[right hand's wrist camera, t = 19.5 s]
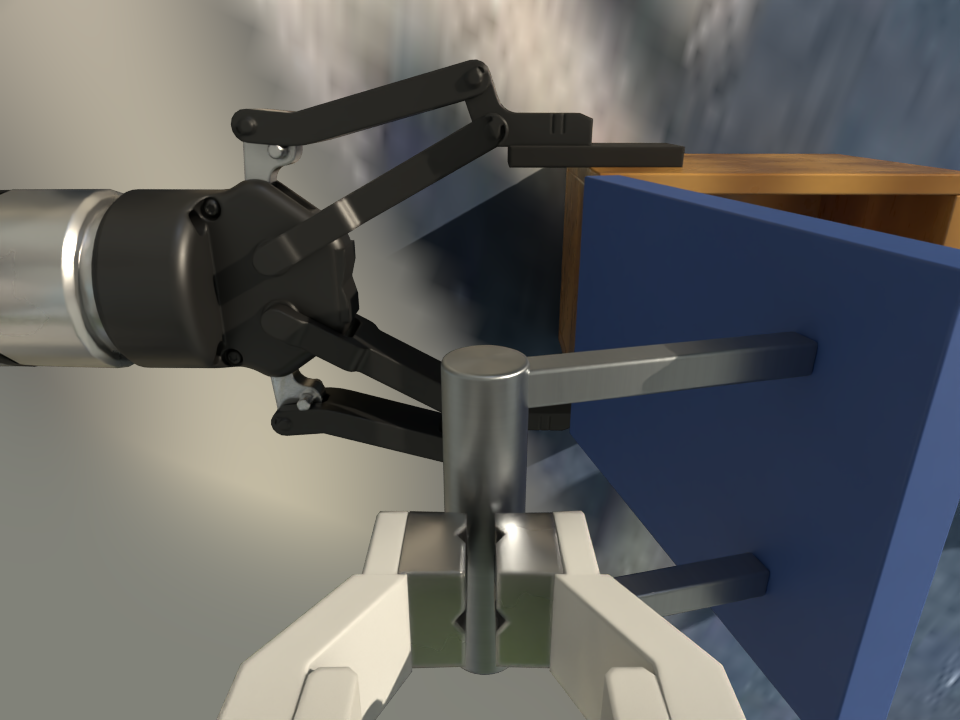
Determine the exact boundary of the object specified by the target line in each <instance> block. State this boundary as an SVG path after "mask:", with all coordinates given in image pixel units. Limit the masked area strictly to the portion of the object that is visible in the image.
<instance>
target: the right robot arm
mask: <svg viewBox="0 0 960 720" xmlns="http://www.w3.org/2000/svg"><path fill="white" fill-rule="evenodd" d="M467 535H468V533H467V513H466V512H418V511H410V512H407V511H380V512H379V514H378V515H377V517H376V521H375V525H374V529H373V532H372V536H371V540H370V544H369V548H368V552H367V556H366V560H365V564H364V568H363V572H362V574H353V575H352V576H350V577H349V578H348V579H347V580H345V581H344V582H343V583H342V584H341V585H339V586H338V587H337V588H335V589H334V590H333V591H332V592H330V593H329V594H328V595H327V596H325V597H324V598H323V599H322V600H320V601H319V602H318V603H317V604H315V605H314V606H313V607H312V608H310V609H309V610H308V611H307V612H305V613H304V614H303V615H302V616H300V617H299V618H298V619H297V620H295V621H294V622H293V623H292V624H290V625H289V626H288V627H287V628H285V629H284V630H283V631H282V632H280V633H279V634H278V635H277V636H275V637H274V638H273V639H272V640H270V641H269V642H268V643H267V644H265V645H264V646H263V647H262V648H260V649H259V650H258V651H257V652H255V653H254V654H253V655H252V656H250V657H249V658H248V659H246V660H245V661H244V662H243V663H241V665H240V667H239V669H238V671H237V674H236V676H235V678H234V680H233V683H232V685H231V687H230V690H229V692H228V694H227V697H226V699H225V701H224V703H223V706H222V708H221V710H220V713H219V715H218V717H217V719H216V720H376V718H377V717H378V716H379V714H380V713H381V712H382V710H383V709H384V708H385V706H386V705H387V704H388V703H389V701H390V700H391V699H392V697H393V696H394V695H395V693H396V692H397V691H398V689H399V688H400V687H401V685H402V684H403V683H404V681H405V680H406V679H407V677H408V676H409V675H410V673H411V672H412V668H435V667H466V640H467V596H468V555H467ZM494 613H495V650H496V667H526V668H550V672H551V673H552V675H553V676H554V677H555V678H556V680H557V681H558V682H559V684H560V685H561V686H562V688H563V689H564V690H565V692H566V693H567V694H568V696H569V697H570V698H571V700H572V701H573V702H574V704H575V705H576V706H577V708H578V709H579V710H580V712H581V713H582V714H583V716H584V717H585V718H586V719H587V720H746V718H745V716H744V714H743V711H742V709H741V707H740V705H739V702H738V700H737V698H736V695H735V693H734V691H733V688H732V686H731V684H730V682H729V679H728V677H727V675H726V672H725V670H724V668H723V665H722V664H720V663H719V662H718V661H716V660H715V659H714V658H713V657H711V656H710V655H709V654H708V653H706V652H705V651H704V650H703V649H701V648H700V647H699V646H698V645H696V644H695V643H694V642H693V641H691V640H690V639H689V638H688V637H686V636H685V635H684V634H683V633H681V632H680V631H679V630H678V629H676V628H675V627H674V626H673V625H671V624H670V623H669V622H668V621H666V620H665V619H664V618H663V617H661V616H660V615H659V614H658V613H656V612H655V611H654V610H653V609H651V608H650V607H649V606H648V605H646V604H645V603H644V602H643V601H641V600H640V599H639V598H638V597H636V596H635V595H634V594H633V593H631V592H630V591H629V590H628V589H626V588H625V587H624V586H623V585H621V584H620V583H619V582H618V581H616V580H615V579H614V578H613V577H611V576H610V575H609V574H600V572H599V569H598V565H597V561H596V557H595V553H594V550H593V546H592V542H591V538H590V534H589V531H588V527H587V523H586V519H585V515H584V513H583V512H582V511H560V512H550V513H494Z"/></svg>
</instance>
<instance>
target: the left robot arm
mask: <svg viewBox="0 0 960 720" xmlns="http://www.w3.org/2000/svg"><path fill="white" fill-rule="evenodd" d="M462 101H465V102H466V105H467V108H468V111H469V114H470V117H471V120H472V122H471V123H470V124H468V125H466V126H465V127H463V128H461V129H459V130H458V131H456V132H454V133H453V134H451V135H449V136H447V137H446V138H444V139H442V140H441V141H439V142H437V143H436V144H434V145H432V146H430V147H429V148H427V149H425V150H424V151H422V152H420V153H419V154H417V155H415V156H413V157H412V158H410V159H408V160H407V161H405V162H403V163H401V164H400V165H398V166H396V167H395V168H393V169H391V170H390V171H388V172H386V173H384V174H383V175H381V176H379V177H378V178H376V179H374V180H373V181H371V182H369V183H367V184H366V185H364V186H362V187H361V188H359V189H357V190H355V191H354V192H352V193H350V194H349V195H347V196H345V197H343V198H342V199H340V200H338V201H337V202H335V203H333V204H332V205H330V206H328V207H326V208H325V209H323V210H319V209H318V208H317V207H315V206H314V205H312V204H311V203H309V202H308V201H306V200H305V199H304V198H302V197H301V196H299V195H298V194H296V193H295V192H293V191H292V190H291V189H289V188H288V187H286V186H285V185H283V184H282V183H281V182H279V181H277V174H278V171H279V170H280V169H281V167H283V166H285V165H289V164H293V163H295V162H297V161H298V160H299V159H300V158H301V155H302V150H303V149H302V145H307V144H312V143H317V142H322V141H326V140H331V139H334V138H338V137H341V136H345V135H348V134H351V133H355V132H358V131H362V130H365V129H369V128H372V127H376V126H379V125H382V124H386V123H389V122H393V121H396V120H400V119H403V118H407V117H410V116H413V115H417V114H420V113H424V112H427V111H431V110H434V109H438V108H441V107H444V106H448V105H451V104H455V103H458V102H462ZM592 126H593V119H592V118H590V117H588V116H585V115H583V114H581V113H514V112H511V111H508V110H507V109H506V108H504V107H503V105H502V104H501V103H500V101H499V98H498V95H497V92H496V89H495V86H494V83H493V80H492V77H491V74H490V71H489V69H488V67H487V66H486V65H485V64H484V63H483V62H482V61H479V60H469V61H465V62H462V63H458V64H455V65H452V66H448V67H445V68H442V69H438V70H435V71H432V72H428V73H425V74H421V75H418V76H415V77H411V78H408V79H405V80H401V81H398V82H395V83H391V84H388V85H384V86H381V87H378V88H374V89H371V90H368V91H364V92H361V93H358V94H354V95H351V96H347V97H344V98H341V99H337V100H334V101H331V102H327V103H324V104H321V105H317V106H314V107H310V108H307V109H304V110H300V111H297V112H296V111H285V110H275V109H242V110H239V111H237V112H236V113H235V114H234V115H233V117H232V120H231V127H232V131H233V133H234V134H235V136H236V137H237V138H238V139H239V140H241V141H243V150H244V170H245V181H242V182H240V183H239V184H237V185H236V186H234V187H233V188H231V189H224V190H181V189H179V190H177V189H176V190H175V189H173V190H172V189H137V190H131V191H128V192H126V193H120V192H117V191H114V190H111V189H20V190H19V189H14V190H0V366H33V367H35V366H58V367H98V368H122V367H129V366H131V365H133V364H136V365H138V366H142V367H149V368H225V367H240V366H241V367H247V368H251V369H254V370H256V371H258V372H260V373H262V374H264V375H267V376H270V377H271V380H272V385H273V389H274V394H275V398H276V403H277V408H278V409H277V411H276V413H275V414H274V415H273V417H272V419H271V425H272V428H273V430H275V431H276V432H277V433H278V434H281V435H285V436H290V435H305V434H319V433H325V434H329V435H333V436H337V437H342V438H345V439H349V440H354V441H358V442H362V443H366V444H370V445H374V446H378V447H383V448H387V449H391V450H395V451H399V452H403V453H407V454H411V455H415V456H420V457H424V458H428V459H432V460H436V461H440V462H443V431H442V391H441V361H439V360H437V359H435V358H433V357H431V356H429V355H427V354H425V353H423V352H421V351H419V350H417V349H416V348H414V347H412V346H410V345H408V344H406V343H404V342H402V341H400V340H398V339H396V338H394V337H392V336H390V335H388V334H386V333H384V332H382V331H381V330H379V329H378V327H377V326H376V325H375V324H374V323H373V322H371V321H369V320H367V319H366V318H364V317H362V316H360V315H358V314H356V313H357V312H358V310H359V299H358V291H357V288H356V286H355V283H354V280H353V277H352V273H353V268H354V263H355V244H354V240H350V237H349V235H348V233H349V232H351V231H352V230H354V229H356V228H357V227H359V226H360V225H362V224H363V223H365V222H367V221H369V220H370V219H372V218H374V217H376V216H377V215H379V214H381V213H383V212H384V211H386V210H388V209H390V208H391V207H393V206H395V205H396V204H398V203H400V202H402V201H403V200H405V199H407V198H409V197H410V196H412V195H414V194H416V193H417V192H419V191H421V190H423V189H424V188H426V187H428V186H430V185H431V184H433V183H435V182H437V181H438V180H440V179H442V178H444V177H445V176H447V175H449V174H451V173H452V172H454V171H456V170H457V169H459V168H461V167H463V166H464V165H466V164H468V163H470V162H471V161H473V160H475V159H477V158H478V157H480V156H482V155H484V154H485V153H487V152H489V151H491V150H492V149H494V148H496V147H508V164H509V167H524V168H591V167H683V159H684V151H685V147H683V146H678V145H673V144H668V143H591V142H592ZM315 356H317V357H319V358H321V359H323V360H325V361H327V362H329V363H331V364H333V365H335V366H337V367H339V368H341V369H343V370H346V371H350V372H355V371H357V372H361V373H363V374H365V375H367V376H369V377H371V378H373V379H375V380H377V381H379V382H381V383H383V384H385V385H387V386H389V387H391V388H393V389H395V390H397V391H399V392H401V393H403V394H405V395H407V396H409V397H411V398H413V399H415V400H417V401H419V402H421V403H423V404H425V405H427V406H429V407H431V408H433V409H435V410H437V411H439V412H436V411H432V410H428V409H424V408H420V407H415V406H412V405H408V404H404V403H400V402H396V401H392V400H388V399H384V398H380V397H376V396H372V395H368V394H364V393H359V392H356V391H352V390H347V389H341V388H332V387H329V388H325V387H324V385H323V383H322V381H321V380H319V379H311V378H307V377H305V376H304V375H302V374H301V373H300V371H299V368H300V367H302V366H303V365H304V364H306V363H307V362H308V361H310V360H311V359H313V358H314V357H315ZM440 412H441V413H440ZM570 418H571V403H569V404H560V405H551V406H543V407H534V408H528V430H565V429H568V428H570Z"/></svg>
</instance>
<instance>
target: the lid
mask: <svg viewBox="0 0 960 720" xmlns="http://www.w3.org/2000/svg"><path fill="white" fill-rule="evenodd" d="M441 391H442V431H443V470H444V508H445V509H444V510H445V512H466V513H467V533H468V535H467V555H468V596H467V640H466V667H461V668H463V669H464V670H466V671H468V672H471V673H474V674H480V675H489V674H495V673H499V672H501V671H503V670H505V669H507V668H508V667H496V650H495V613H494V513H525V502H526V471H527V439H528V408H534V407H543V406H551V405H560V404H569V403H571V418H570V434H571V436H572V437H573V438H574V439H575V441H576V442H577V443H578V444H579V445H580V447H581V448H582V449H583V450H584V452H585V453H586V454H587V455H588V457H589V458H590V459H591V460H592V462H593V463H594V464H595V465H596V467H597V468H598V469H599V470H600V471H601V473H602V474H603V475H604V476H605V478H606V479H607V480H608V481H609V483H610V484H611V485H612V486H613V488H614V489H615V490H616V491H617V492H618V494H619V495H620V496H621V497H622V499H623V500H624V501H625V502H626V504H627V505H628V506H629V507H630V509H631V510H632V511H633V512H634V514H635V515H636V516H637V517H638V518H639V520H640V521H641V522H642V523H643V525H644V526H645V527H646V528H647V530H648V531H649V532H650V533H651V535H652V536H653V537H654V538H655V540H656V541H657V542H658V543H659V544H660V546H661V547H662V548H663V549H664V551H665V552H666V553H667V554H668V556H669V557H670V558H671V559H672V561H673V562H674V563H675V564H676V566H673V567H668V568H662V569H657V570H652V571H646V572H641V573H635V574H630V575H625V576H619V577H614V579H615V580H616V581H618V582H619V583H620V584H621V585H623V586H624V587H625V588H626V589H628V590H629V591H630V592H631V593H633V594H634V595H635V596H636V597H638V598H639V599H640V600H641V601H643V602H644V603H645V604H646V605H648V606H649V607H650V608H651V609H653V610H654V611H655V612H656V613H658V614H659V615H660V616H661V617H663V616H668V615H673V614H678V613H683V612H688V611H693V610H697V609H702V608H707V607H710V608H711V609H712V610H713V611H714V613H715V614H716V615H717V616H718V618H719V619H720V620H721V621H722V622H723V624H724V625H725V626H726V627H727V629H728V630H729V631H730V632H731V634H732V635H733V636H734V637H735V639H736V640H737V641H738V642H739V644H740V645H741V646H742V647H743V648H744V650H745V651H746V652H747V653H748V655H749V656H750V657H751V658H752V660H753V661H754V662H755V663H756V665H757V666H758V667H759V668H760V670H761V671H762V672H763V673H764V674H765V676H766V677H767V678H768V679H769V681H770V682H771V683H772V684H773V686H774V687H775V688H776V689H777V691H778V692H779V693H780V694H781V696H782V697H783V698H784V699H785V700H786V702H787V703H788V704H789V705H790V707H791V708H792V709H793V710H794V712H795V713H796V714H797V715H798V717H799V718H800V719H801V720H886V718H887V715H888V712H889V709H890V706H891V703H892V700H893V697H894V694H895V691H896V688H897V685H898V682H899V679H900V676H901V673H902V670H903V667H904V664H905V661H906V658H907V655H908V652H909V649H910V646H911V643H912V640H913V637H914V634H915V631H916V628H917V625H918V622H919V619H920V616H921V613H922V610H923V607H924V604H925V601H926V598H927V595H928V592H929V589H930V586H931V583H932V580H933V577H934V574H935V571H936V568H937V565H938V562H939V559H940V556H941V553H942V550H943V547H944V544H945V541H946V538H947V535H948V532H949V529H950V526H951V523H952V520H953V517H954V514H955V511H956V508H957V505H958V502H959V499H960V249H956V248H952V247H947V246H942V245H938V244H933V243H929V242H924V241H919V240H915V239H910V238H906V237H901V236H896V235H892V234H887V233H883V232H878V231H874V230H869V229H864V228H860V227H855V226H851V225H846V224H841V223H837V222H832V221H828V220H823V219H818V218H814V217H809V216H805V215H800V214H795V213H791V212H786V211H782V210H777V209H772V208H768V207H763V206H759V205H754V204H749V203H745V202H740V201H736V200H731V199H727V198H722V197H717V196H713V195H708V194H704V193H699V192H694V191H690V190H685V189H681V188H676V187H671V186H667V185H662V184H658V183H653V182H648V181H644V180H639V179H635V178H630V177H625V176H621V175H605V176H586V177H585V182H584V199H583V216H582V233H581V250H580V266H579V283H578V300H577V317H576V334H575V351H574V353H564V354H553V355H543V356H533V357H526V356H525V355H524V354H523V353H521V352H519V351H517V350H514V349H511V348H507V347H502V346H495V345H476V346H468V347H463V348H459V349H456V350H453V351H451V352H449V353H448V354H446V355H445V356H444V357H443V360H442V362H441Z"/></svg>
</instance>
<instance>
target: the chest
mask: <svg viewBox="0 0 960 720" xmlns="http://www.w3.org/2000/svg"><path fill="white" fill-rule="evenodd" d="M605 175H621V176H625V177H630V178H635V179H639V180H644V181H648V182H653V183H658V184H662V185H667V186H671V187H676V188H681V189H685V190H690V191H694V192H699V193H704V194H708V195H713V196H717V197H722V198H727V199H731V200H736V201H740V202H745V203H749V204H754V205H759V206H763V207H768V208H772V209H777V210H782V211H786V212H791V213H795V214H800V215H805V216H809V217H814V218H818V219H823V220H828V221H832V222H837V223H841V224H846V225H851V226H855V227H860V228H864V229H869V230H874V231H878V232H883V233H887V234H892V235H896V236H901V237H906V238H910V239H915V240H919V241H924V242H929V243H933V244H938V245H942V246H947V247H952V248H956V249H960V171H956V170H949V169H942V168H935V167H927V166H920V165H913V164H905V163H898V162H891V161H883V160H876V159H869V158H862V157H854V156H847V155H840V154H684V159H683V167H591V168H567V173H566V193H565V214H564V234H563V255H562V275H561V296H560V316H559V336H558V339H559V342H560V345H561V349H562V352H563V354H564V353H574V351H575V334H576V317H577V300H578V283H579V266H580V250H581V233H582V216H583V199H584V182H585V177H586V176H605Z"/></svg>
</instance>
